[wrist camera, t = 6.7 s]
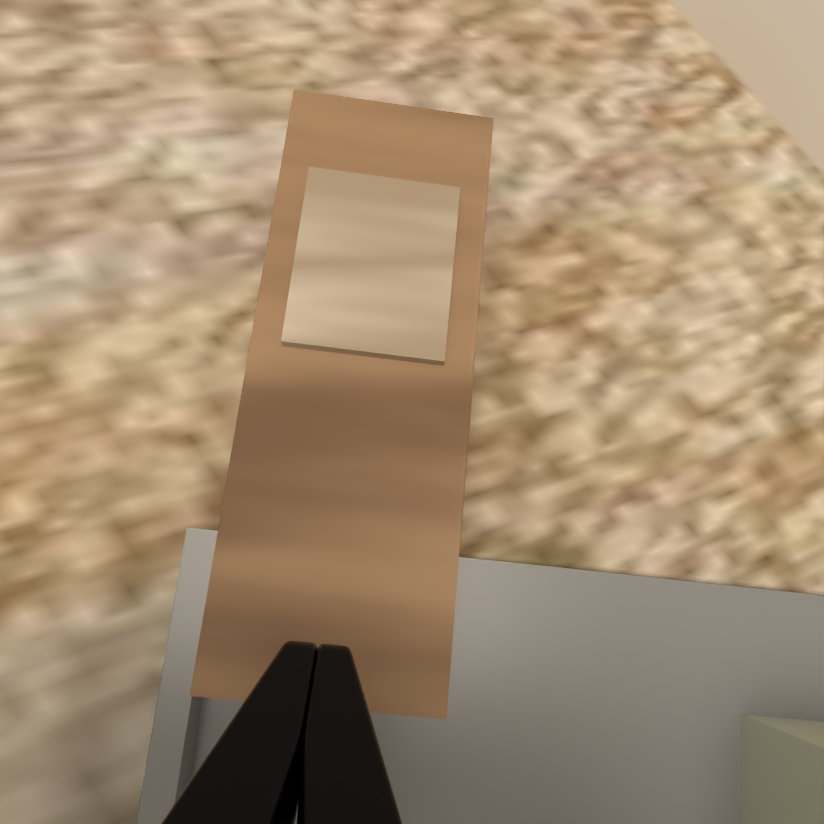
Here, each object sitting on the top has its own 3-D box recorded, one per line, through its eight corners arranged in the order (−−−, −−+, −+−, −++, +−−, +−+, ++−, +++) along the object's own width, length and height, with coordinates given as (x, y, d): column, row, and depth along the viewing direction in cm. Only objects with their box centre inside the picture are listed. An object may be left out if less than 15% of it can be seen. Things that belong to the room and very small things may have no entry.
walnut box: (448, 722, 13) (495, 110, 17) (185, 698, 13) (293, 80, 17) (420, 686, 18) (461, 222, 22) (232, 668, 18) (306, 201, 22)
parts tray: (963, 1073, 18) (1038, 1137, 16) (122, 1020, 17) (92, 1081, 15) (936, 607, 21) (997, 613, 19) (204, 529, 19) (186, 527, 17)
